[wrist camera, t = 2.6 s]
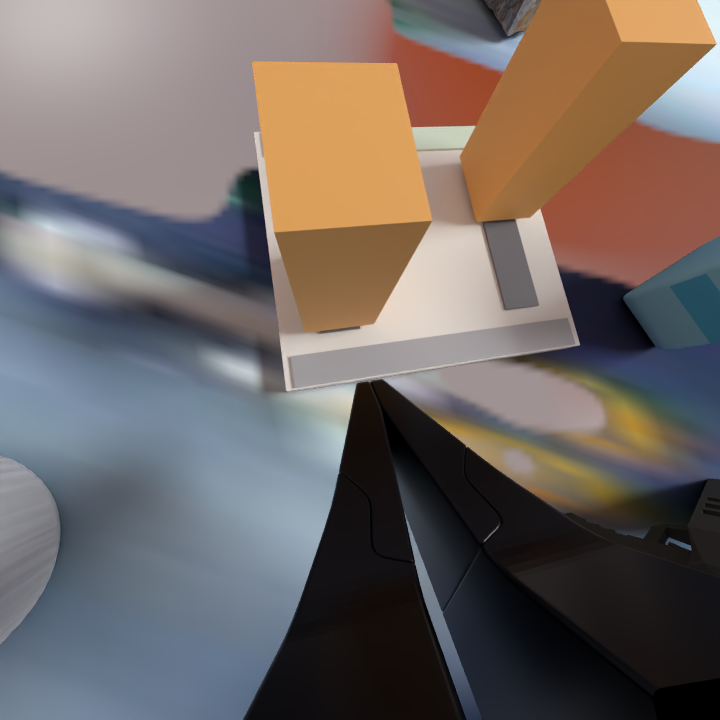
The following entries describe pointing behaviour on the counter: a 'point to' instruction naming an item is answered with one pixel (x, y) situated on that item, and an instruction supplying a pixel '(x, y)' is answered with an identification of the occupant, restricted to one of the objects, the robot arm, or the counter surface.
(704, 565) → the gun
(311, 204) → the orange rectangular block
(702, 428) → the counter surface
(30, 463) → the counter surface
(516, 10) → the geological specimen
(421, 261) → the dip bank
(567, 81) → the tab
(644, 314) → the data package
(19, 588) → the ramekin
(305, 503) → the counter surface
